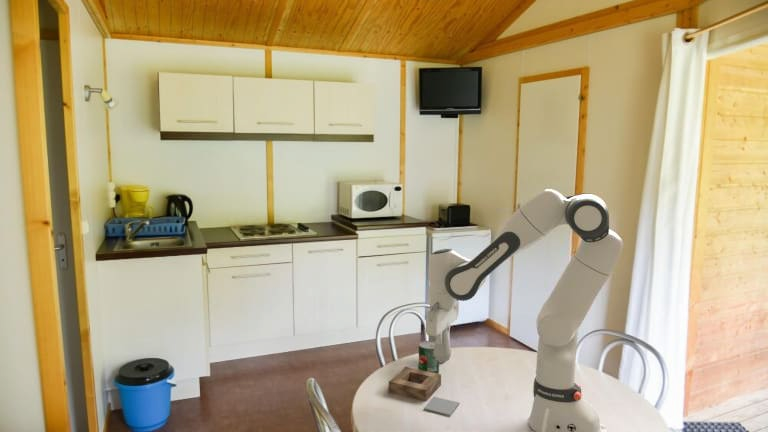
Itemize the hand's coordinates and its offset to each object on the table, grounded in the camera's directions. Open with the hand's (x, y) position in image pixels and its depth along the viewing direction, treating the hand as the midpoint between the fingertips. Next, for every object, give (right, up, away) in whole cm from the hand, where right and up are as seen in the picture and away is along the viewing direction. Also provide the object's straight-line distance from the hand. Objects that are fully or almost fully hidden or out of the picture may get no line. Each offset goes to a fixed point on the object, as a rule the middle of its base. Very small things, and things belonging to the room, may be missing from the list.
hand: (442, 340), depth 163 cm
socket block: (-8, -20, +14) cm, 26 cm away
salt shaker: (0, -6, +1) cm, 6 cm away
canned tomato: (-2, -19, +28) cm, 34 cm away
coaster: (0, -22, +1) cm, 22 cm away
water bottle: (+3, -18, +40) cm, 44 cm away
